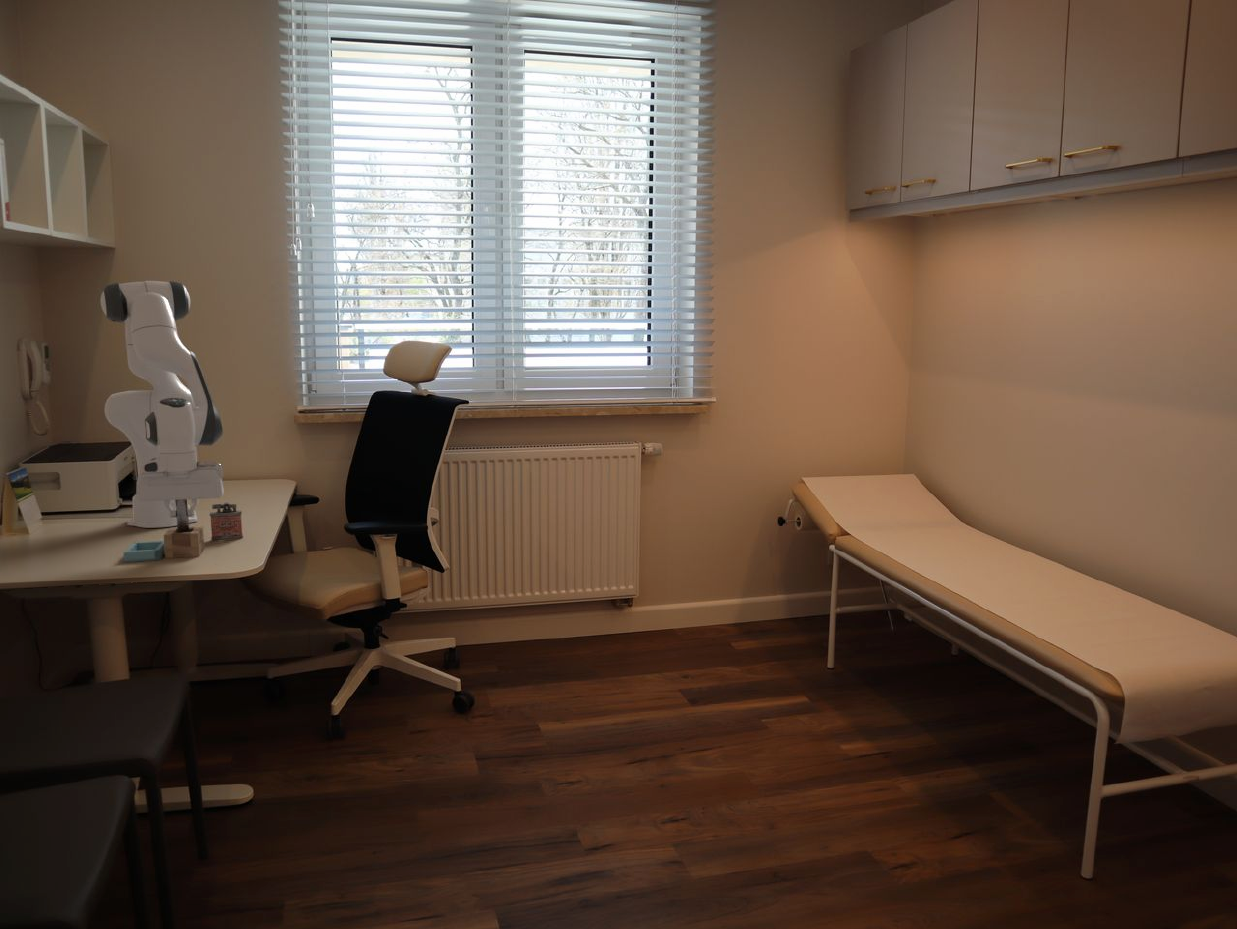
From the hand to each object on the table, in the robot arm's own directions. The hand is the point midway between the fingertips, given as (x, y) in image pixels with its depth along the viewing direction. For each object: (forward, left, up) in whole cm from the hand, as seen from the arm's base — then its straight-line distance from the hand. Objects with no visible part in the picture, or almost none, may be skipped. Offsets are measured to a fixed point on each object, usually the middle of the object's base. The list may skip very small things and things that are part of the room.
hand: (182, 516), depth 252 cm
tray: (0, -9, -10) cm, 13 cm away
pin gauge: (0, 0, -4) cm, 4 cm away
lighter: (-15, +8, -10) cm, 20 cm away
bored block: (0, 0, -10) cm, 10 cm away
